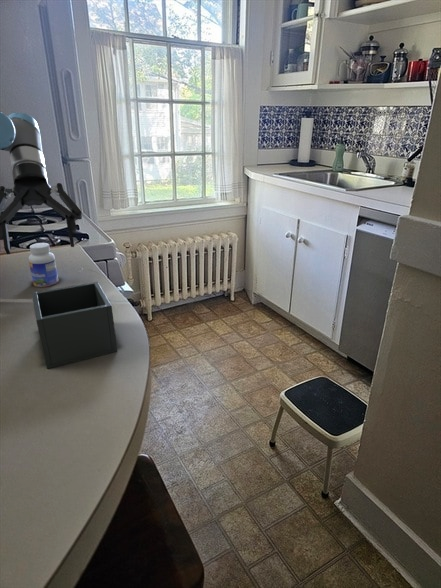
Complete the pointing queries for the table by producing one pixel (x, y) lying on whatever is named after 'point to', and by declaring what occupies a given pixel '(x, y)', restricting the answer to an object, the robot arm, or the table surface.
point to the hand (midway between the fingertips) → (40, 247)
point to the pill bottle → (42, 265)
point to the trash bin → (74, 323)
